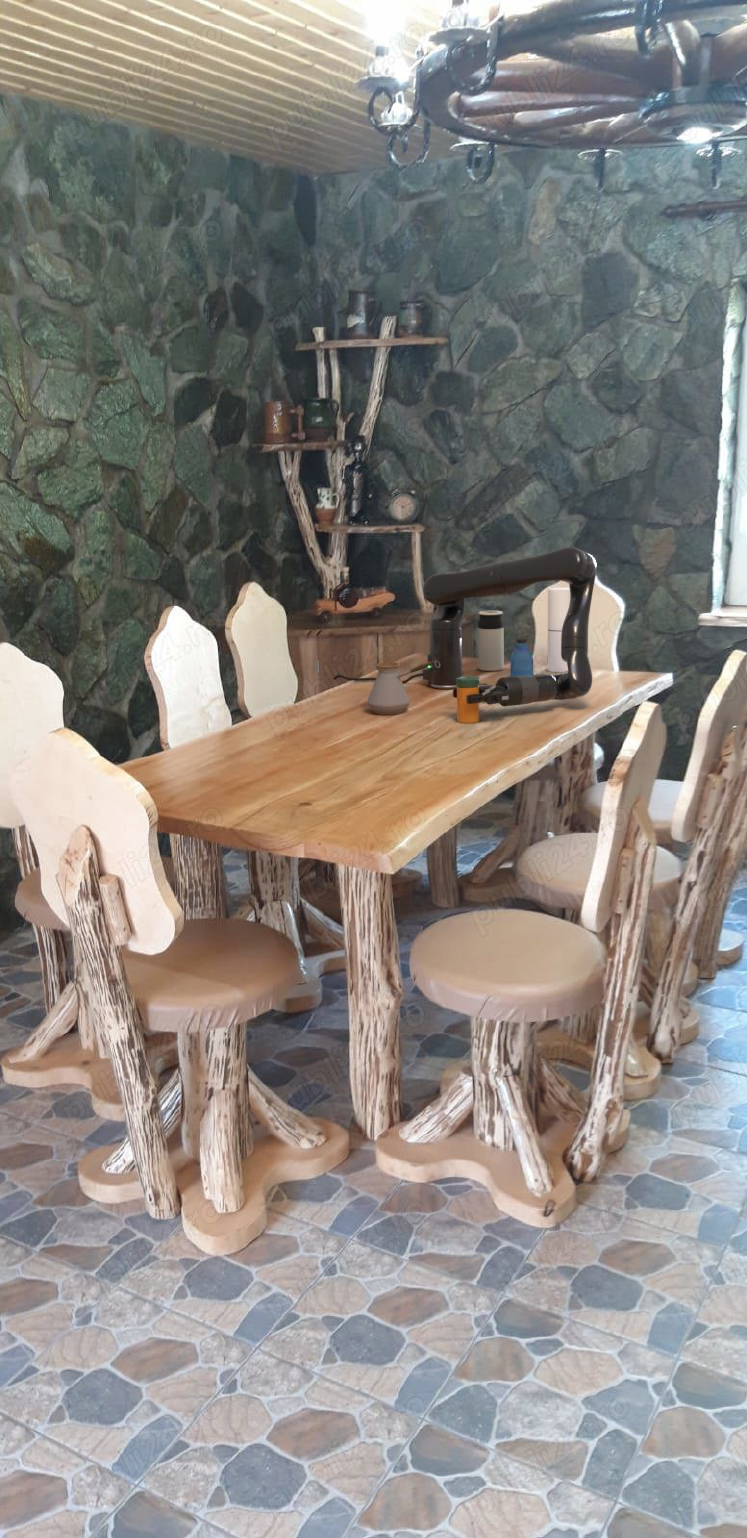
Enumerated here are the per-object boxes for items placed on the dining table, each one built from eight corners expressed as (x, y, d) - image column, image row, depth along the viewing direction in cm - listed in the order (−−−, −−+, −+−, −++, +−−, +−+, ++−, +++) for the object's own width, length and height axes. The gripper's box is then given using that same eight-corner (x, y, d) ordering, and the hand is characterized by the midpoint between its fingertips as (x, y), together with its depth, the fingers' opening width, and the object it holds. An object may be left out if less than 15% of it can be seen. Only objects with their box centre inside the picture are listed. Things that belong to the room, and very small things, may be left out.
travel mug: (486, 672, 366) (485, 614, 361) (473, 668, 373) (473, 611, 368) (508, 669, 369) (508, 612, 364) (495, 666, 376) (495, 609, 371)
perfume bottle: (533, 679, 352) (533, 639, 349) (512, 680, 352) (512, 640, 349) (530, 675, 358) (531, 636, 355) (510, 676, 358) (510, 637, 355)
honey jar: (453, 721, 301) (452, 680, 298) (463, 717, 305) (462, 677, 303) (473, 723, 298) (472, 682, 295) (482, 719, 302) (482, 678, 300)
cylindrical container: (547, 671, 363) (547, 590, 357) (547, 667, 370) (548, 587, 364) (570, 671, 362) (571, 590, 356) (570, 667, 369) (571, 587, 362)
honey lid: (452, 686, 298) (452, 679, 298) (462, 682, 303) (462, 675, 303) (473, 688, 295) (473, 681, 295) (483, 683, 300) (483, 677, 300)
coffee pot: (359, 714, 313) (357, 658, 309) (382, 705, 322) (381, 651, 318) (428, 721, 302) (427, 663, 298) (450, 713, 311) (450, 656, 307)
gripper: (505, 671, 310) (448, 677, 305) (530, 680, 297) (471, 686, 292) (505, 699, 312) (449, 705, 307) (530, 709, 299) (472, 716, 294)
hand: (460, 696), depth 299 cm, fingers open, 8 cm apart
